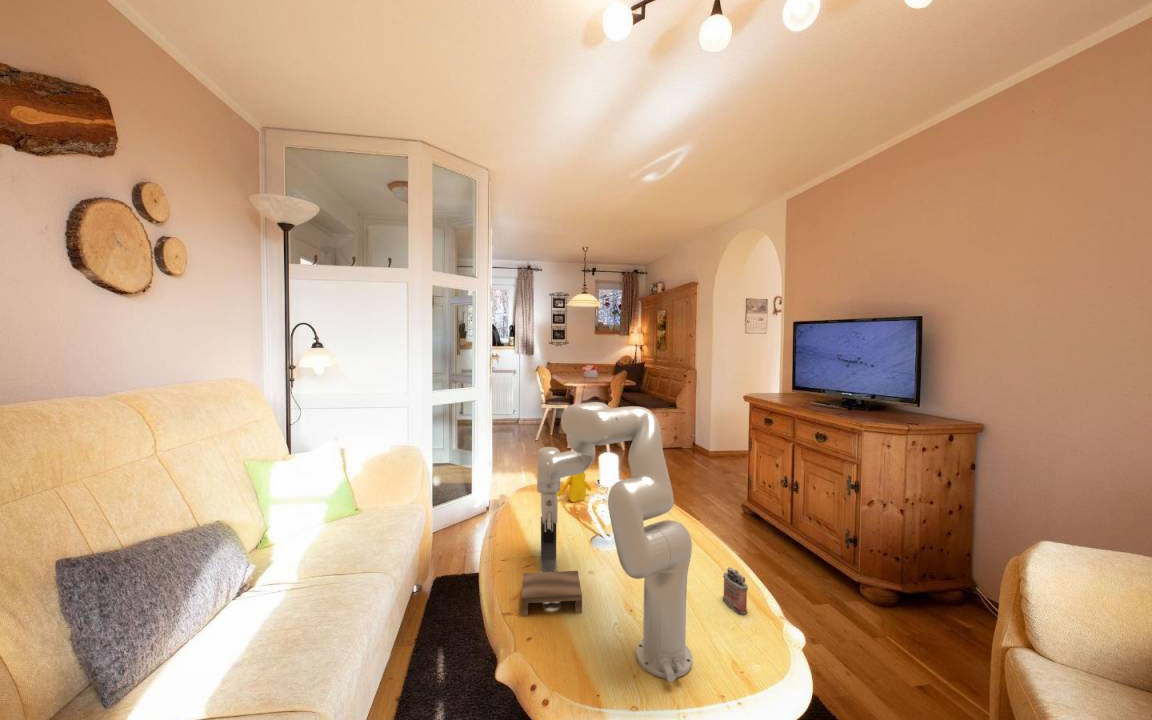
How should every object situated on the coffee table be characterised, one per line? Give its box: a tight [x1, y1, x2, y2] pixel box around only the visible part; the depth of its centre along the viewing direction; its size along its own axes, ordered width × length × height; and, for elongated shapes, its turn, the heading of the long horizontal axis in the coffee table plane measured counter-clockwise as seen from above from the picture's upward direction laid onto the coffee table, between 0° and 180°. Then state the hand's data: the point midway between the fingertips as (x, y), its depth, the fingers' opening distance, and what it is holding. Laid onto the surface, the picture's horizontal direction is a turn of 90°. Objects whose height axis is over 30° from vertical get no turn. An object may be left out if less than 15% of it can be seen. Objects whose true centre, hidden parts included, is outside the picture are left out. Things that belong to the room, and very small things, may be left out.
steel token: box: [541, 601, 562, 613], centre depth 119 cm, size 5×5×1 cm
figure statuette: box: [557, 471, 592, 503], centre depth 196 cm, size 18×8×22 cm, turn 118°
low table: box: [521, 570, 583, 617], centre depth 121 cm, size 12×16×5 cm
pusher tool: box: [540, 516, 558, 572], centre depth 135 cm, size 19×5×14 cm, turn 5°
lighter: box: [722, 566, 749, 617], centre depth 119 cm, size 8×3×10 cm, turn 21°
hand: (548, 539), depth 143 cm, fingers closed on pusher tool, 3 cm apart
